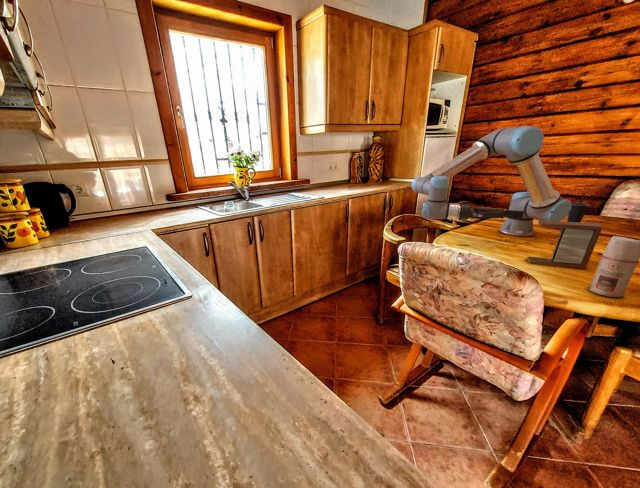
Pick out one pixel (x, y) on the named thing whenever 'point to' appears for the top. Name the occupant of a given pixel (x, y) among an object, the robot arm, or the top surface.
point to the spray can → (616, 267)
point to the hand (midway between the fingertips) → (522, 214)
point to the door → (558, 243)
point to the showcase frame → (571, 244)
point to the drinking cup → (577, 211)
